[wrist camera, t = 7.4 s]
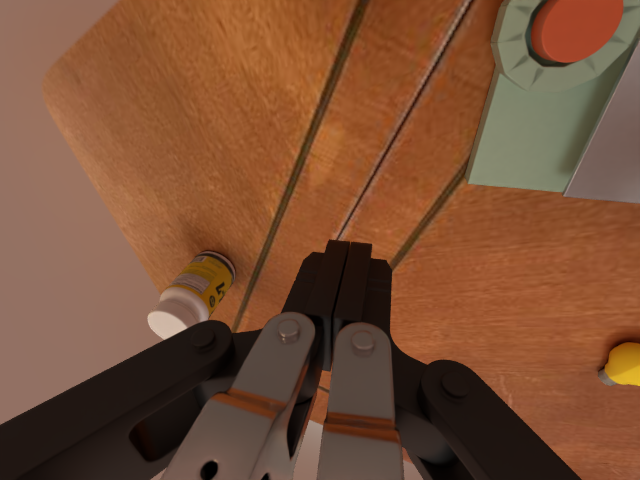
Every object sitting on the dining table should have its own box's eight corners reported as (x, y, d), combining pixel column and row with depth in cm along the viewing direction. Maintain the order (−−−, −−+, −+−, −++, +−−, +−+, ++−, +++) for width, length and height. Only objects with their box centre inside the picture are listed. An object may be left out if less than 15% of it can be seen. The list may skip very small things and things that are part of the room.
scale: (450, 175, 23) (456, 192, 20) (506, -44, 16) (524, -58, 14) (694, 196, 20) (734, 218, 18) (881, -56, 13) (987, -76, 11)
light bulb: (656, 333, 26) (693, 377, 24) (607, 358, 31) (634, 397, 28) (618, 337, 26) (651, 382, 24) (574, 362, 30) (598, 401, 28)
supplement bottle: (231, 291, 35) (189, 354, 28) (192, 273, 35) (141, 332, 28) (241, 262, 32) (197, 324, 25) (199, 242, 32) (143, 299, 25)
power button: (520, 59, 16) (531, 61, 15) (544, -15, 14) (558, -20, 13) (586, 61, 16) (602, 63, 14) (618, -16, 14) (640, -21, 13)
